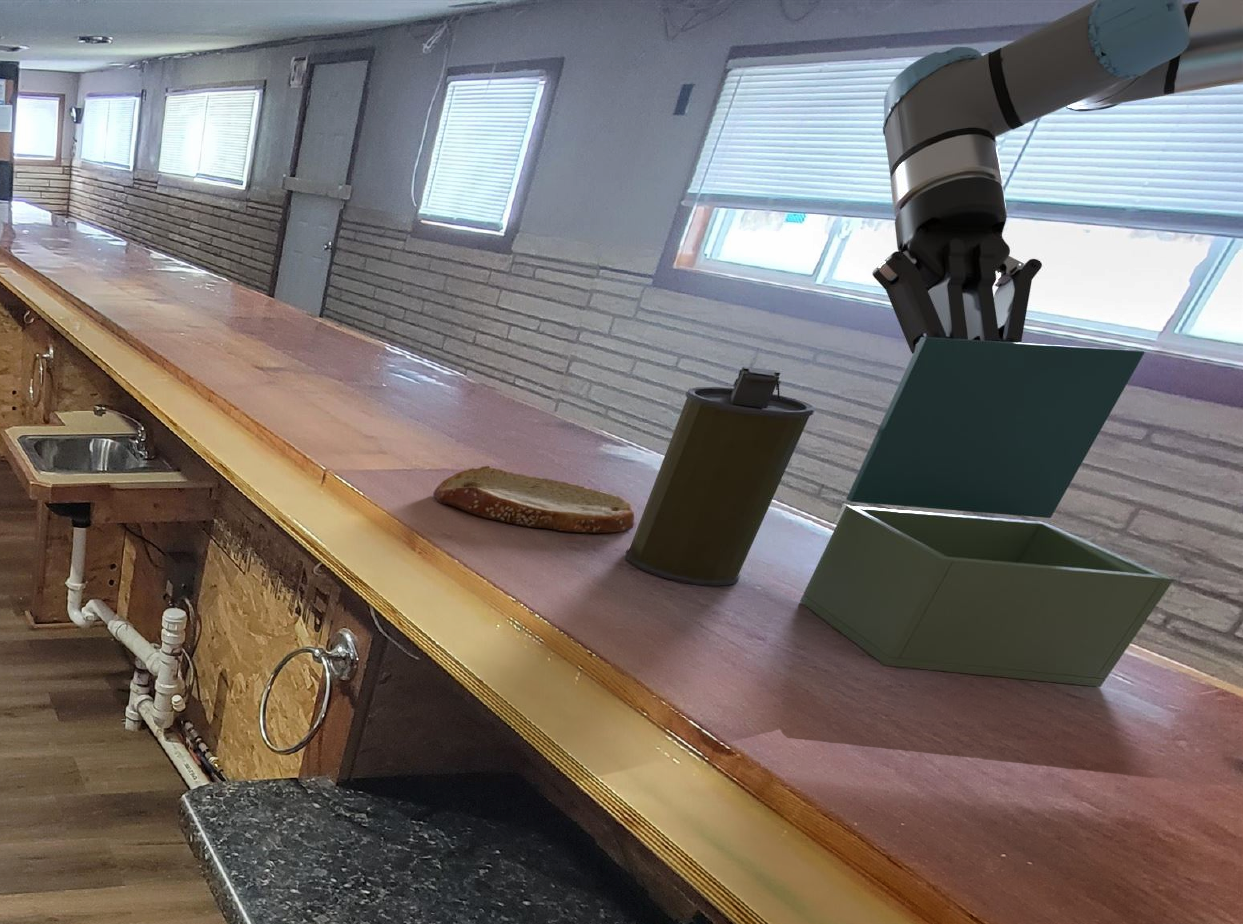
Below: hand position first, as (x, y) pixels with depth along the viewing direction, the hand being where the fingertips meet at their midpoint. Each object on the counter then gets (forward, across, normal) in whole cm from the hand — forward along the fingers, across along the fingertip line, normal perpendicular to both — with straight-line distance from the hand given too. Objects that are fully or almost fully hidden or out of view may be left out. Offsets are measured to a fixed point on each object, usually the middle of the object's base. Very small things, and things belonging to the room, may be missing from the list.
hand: (974, 420), depth 87 cm
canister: (+9, +16, -16) cm, 25 cm away
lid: (+2, 0, +1) cm, 2 cm away
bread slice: (-1, +27, -27) cm, 38 cm away
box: (+19, 0, -6) cm, 20 cm away
